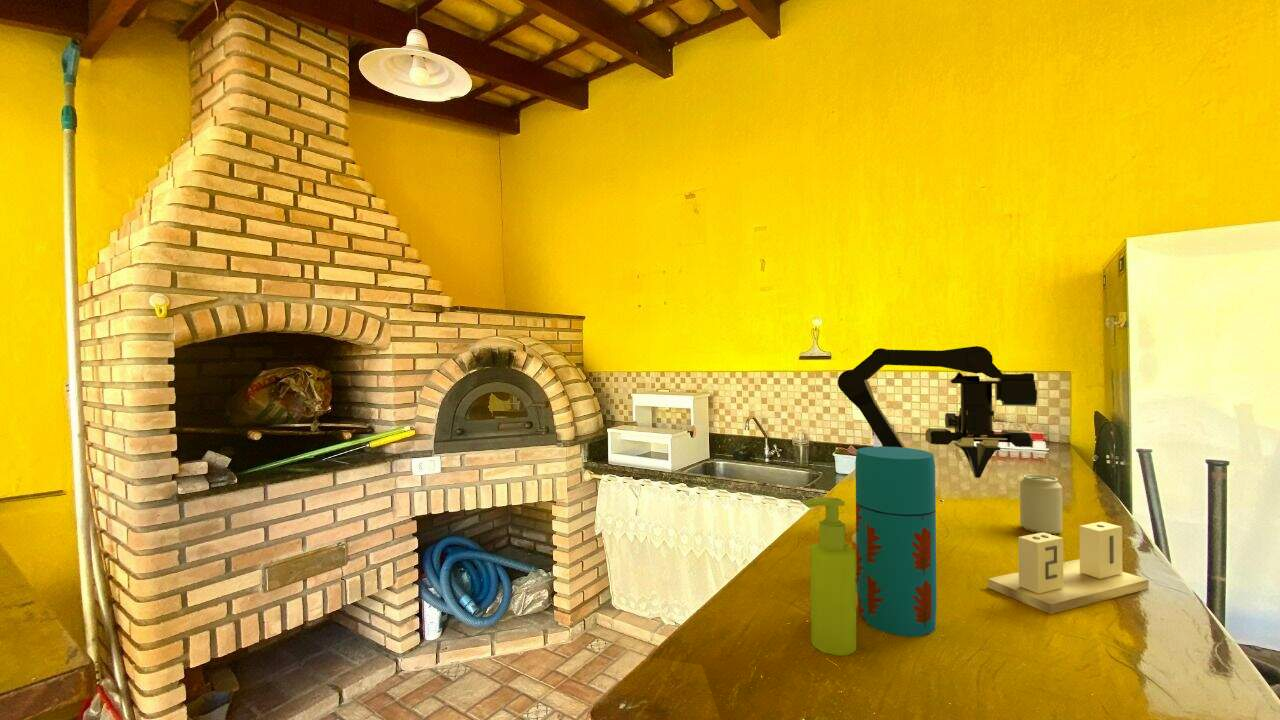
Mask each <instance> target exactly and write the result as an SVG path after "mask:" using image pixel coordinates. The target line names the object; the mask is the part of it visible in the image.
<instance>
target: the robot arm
mask: <svg viewBox="0 0 1280 720" xmlns="http://www.w3.org/2000/svg"><path fill="white" fill-rule="evenodd" d="M993 362H994V359H993V354H992V353H991V351H990V350H989V349H987V348H986V347H983V346H978V345H976V346H965V347H959V348H952V349H944V350H934V349H933V350H932V349H931V350H930V349H929V350H925V349H923V350H922V349H920V350H919V349H886V348H881V347H880V348H876V349H874V350H873V351H872V353H871V354H870V355H868V357H866V358H865V359H863V360H862V361H861V362H860V363H859V364H858V365H856V366H855V367H854V368H853V369H847V370H845V371H843V372H841V373H840V375H839V377H838V379H837V386H838V388H839V390H840V391H841V392H842V393H843V394H844V396H846V398H848V400H849V401H850V402H851V403H852V404H854V406H855V407H856V408H858V410H860V412H861V414H862V416H863V417H864V418H865V421H867V424H868V425H869V426H870V428H871V429H872V431H873V433H874V434H875V436H876V438H877V439H878V441H879V442H880V444H881V447H902V448H906V447H905V445H904V443H903V442H902V440H901V438H900V437H899V436H898V434H897V433H896V431H895V430H894V428H893V426H892V425H891V423H890V422H889V420H888V418H887V417H886V415H885V414H884V412H883V410H882V409H881V408H880V406H879V405H878V403H877V401H876V399H875V396H874V393H873V391H872V387H871V384H870V382H869V379H870V378H872V376H874V375H875V374H876V373H877V372H879V370H880V369H882V368H883V367H884V366H905V367H906V366H907V367H909V366H911V367H913V366H914V367H934V368H936V367H939V368H940V367H941V368H944V369H949V370H950V369H951V370H955V371H962V372H965V373H971V374H983V375H985V376H987V377H989V378H991V379H997V380H981V379H980V375H963V374H962V373H961V372H957V373H956V375H955V376H954V377H953V378H952V379H950V383H951V384H960V407H959V411H958V412H959V413H958V415H957V414H956V413H955V412H946V413H945V414H944V426H945V428H941V427H940V428H938V427H935V428H933V427H931V428H930V427H929V428H927V429H926V430H925V434H924V435H925V436H924V437H925V441H926V442H928V443H929V444H931V445H945V446H946V445H950V444H951V443H952V442H954V446H955V447H957V448H959V449H961V451H962V452H963V453H964V455H965V456H966V457H965V458H966V460H967V461H968V464H969V467H970V468H971V472H972V474H973V477H974V478H976V479H980V478H981V476H982V475H983V473H984V470H985V468H986V466H987V465H988V463H989V460H991V458H992V457H993V455H994V454H995V453H996V452H997V451H1000V450H1001V447H1000V446H998V445H999V443H1011V444H1012V445H1013V446H1014V447H1018V448H1032V447H1033V443H1034V442H1033V437H1032V434H1030V433H1029V432H1028V431H1027V432H1026V431H1024V430H1020V429H1018V430H1017V429H1001V431H1000V432H998V433H996V432H995V430H993V416H995V411H994V410H993V385H995V386H994V394H995V395H994V396H995V397H994V398H995V401H1000V402H1001V405H1002V406H1009V407H1010V406H1017V407H1019V406H1020V407H1036V405H1037V401H1038V390H1037V388H1036V381H1035V374H1034V373H1033V372H1024V373H1002V371H1001V370H1002V369H998V367H997V366H996V365H995V364H994V363H993ZM949 429H954V432H953V431H951V430H949ZM975 442H976V445H975V444H974V443H975Z"/></svg>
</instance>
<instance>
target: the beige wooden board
mask: <svg viewBox="0 0 1280 720" xmlns="http://www.w3.org/2000/svg"><path fill="white" fill-rule="evenodd" d="M1063 573H1064V588H1060V589H1055V590H1051V591H1047V592H1043V593H1039V594H1038V593H1035V592H1033V591H1030V590H1028V589H1025V588H1023V587H1020V586H1019V571H1017V572H1012V573H1008V574H1003V575H999V576H994V577H990V578H987V588H989V589H991V590H993V591H996V592H998V593H1000V594H1003V595H1005V596H1007V597H1010V598H1012V599H1014V600H1016V601H1019V602H1021V603H1023V604H1026V605H1029V606H1030V607H1033V608H1036V609H1038V610H1040V611H1042V612H1045V613H1046V614H1050V615H1053V614H1056V613H1057V614H1058V613H1060V612H1061V613H1062V612H1064V611H1069V610H1072V609H1076V608H1079V607H1083V606H1087V605H1092V604H1095V603H1099V602H1104V601H1107V600H1110V599H1114V598H1119V597H1122V596H1125V595H1126V596H1127V595H1129V594H1133V593H1137V592H1141V591H1145V590H1149V586H1150V585H1149V584H1150V582H1149V579H1147V578H1144V577H1141V576H1137V575H1136V574H1131V573H1128V572H1125V571H1123V573H1122V574H1118V575H1114V576H1110V577H1106V578H1101V579H1099V578H1096V577H1093V576H1090V575H1087V574H1084V573H1081V572H1080V558H1077V559H1073V560H1068V561H1063Z"/></svg>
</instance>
